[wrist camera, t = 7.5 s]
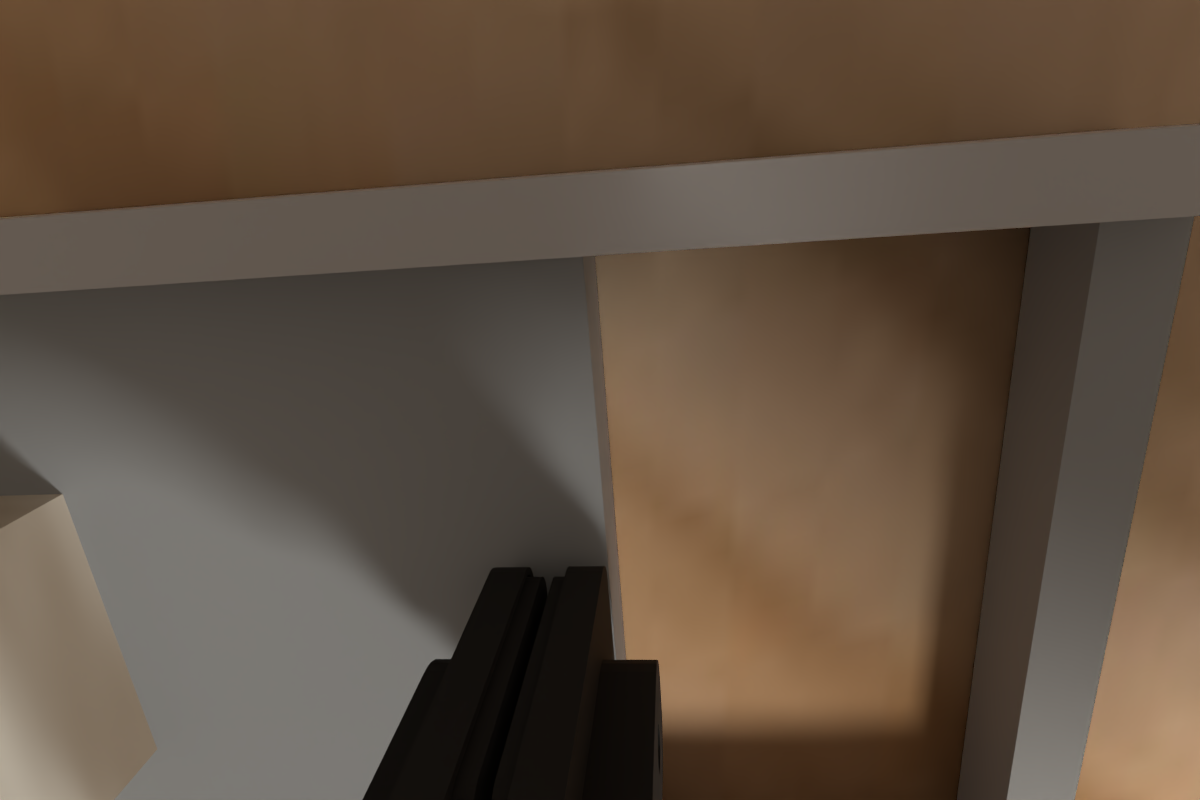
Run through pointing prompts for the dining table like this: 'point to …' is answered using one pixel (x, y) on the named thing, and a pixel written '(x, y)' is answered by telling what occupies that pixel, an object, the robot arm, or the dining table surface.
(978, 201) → the track
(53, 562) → the cream block
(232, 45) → the dining table surface
